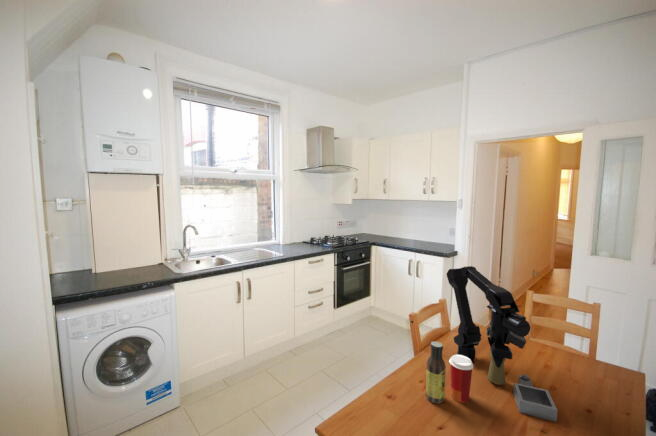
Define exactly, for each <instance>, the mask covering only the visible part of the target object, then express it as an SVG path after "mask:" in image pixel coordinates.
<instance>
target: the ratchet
mask: <svg viewBox="0 0 656 436" xmlns="http://www.w3.org/2000/svg"><path fill="white" fill-rule="evenodd" d="M517 379H518V381H519V382H518V383H517V382H513V391H512V392H513V396H514V400H515V402H516V405H517V409H518V412H519V414H524V415H527V416H531V417H535V418H539V419H544V420H548V421H550V422H554V423H555V422H556V423H558V422H557V421H558V411H559V410H558V407H556V404H555V402H554V400H553V398H552V396H551V393H550V392H549V390H548V389H544V388H541V387H540V388H538V387H536V386H534V385H533V381H532V380H531V378H530V377H529V376H528V375H527V374H523V373H522V374H519V376H518V377H517Z"/></svg>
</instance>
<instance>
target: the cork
mask: <svg viewBox="0 0 656 436" xmlns="http://www.w3.org/2000/svg"><path fill="white" fill-rule="evenodd" d="M489 358H490V362H489V363H490V364H489V367H488V372H487V380H488V381H489V382H491V383H493V384H495V385H498V386H502V385H506V381H507V380H506V371H505V362H506V360H507V359H506V358H504V359H503V362H502V364H501V366H500V368H499V367H496V364H495V361H494V358H493V356H492V354H491V351H490V352H489Z"/></svg>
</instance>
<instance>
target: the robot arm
mask: <svg viewBox="0 0 656 436" xmlns="http://www.w3.org/2000/svg"><path fill="white" fill-rule="evenodd" d="M446 278H447V281H448V284H449V285H450V286H451V288H453V292H454V296H455V301H456V306H457V311H458V316H459V322H460V323H459V326H458V328H457V331H458V334H457V335H456V336H454V337H453V341H454V344H455V345H457V352H456V355H463V356H466V357H468V358H469V359H471V361H472V364H474V363H475V359H476V346H477V347H478V346H479V345H480V343H481V341H482V333H481V330H480V329H481V328H480V326H479V325H476V323H474V321H473V315H472V311H471V308H470V307H471V305H470V301H469V297H468V293H467V285H468V283H469V281H470V282H472V284H474V286H476V287H477V288H478V289H479V290H480V291H482V292H483V294H485V295H484V296H485V298H486V300H487V301H488V302H489V304H488V305H487V306H486V307H487V308H488V309H490V322H489V326H488V327H487V328H486V330H485V331H486V336H487V337H486V338H487V341H488V344H489V346H490V347H489V348H490V352H491V354H492V356H493V358H494V361H495V364H496V367H499V368H500V366H501V364H502V362H503V359H504V358H506V360H513V356H514V355H513V351H512V349H511V348H510V346H508V345H511V344H512V345H514V346H516V347H517V348H519V349H520V350H523V349H524V347H525V345H527V343H528V342H527V339H526V338H525V337H527V336H528V335H529V333H530V332H531V325H530V323H529V321H527V318H526V316H524V315H521V314H520V310H519V308H518V307H519V306H518V305H517V303H516V300H515V298H514V297H513V293H511V291H509V290H507V289H506V288H504V287H501V286H498V285H497V284H494V283H493V282H492V281H490V280H489V279H488V278H487V277H485V276H484V275H483V274H482V273H481V272H479V270H477V268H476V267H475V266H472V265H470V266H463V267H459V268H449V269H448V270H447V272H446ZM487 308H486V309H487Z"/></svg>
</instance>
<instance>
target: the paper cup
mask: <svg viewBox="0 0 656 436" xmlns="http://www.w3.org/2000/svg"><path fill="white" fill-rule="evenodd" d="M448 363H449V364H450V365H449V366H450V391H451V393H450V394H451V397H452V400H454V401H456V402H458V403H461V404H465V403H468V402H469V401H470V400H469V399H470V392H471V383H472V374H473V368H474V367H475V365H474V363H473V362H472V361H471V359H469V358H468V357H466V356H463V355H457V354H454V355H451V357H450V358H449V360H448Z"/></svg>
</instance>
